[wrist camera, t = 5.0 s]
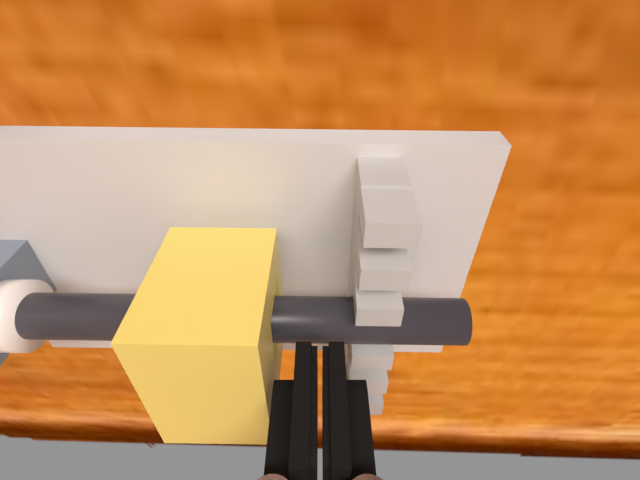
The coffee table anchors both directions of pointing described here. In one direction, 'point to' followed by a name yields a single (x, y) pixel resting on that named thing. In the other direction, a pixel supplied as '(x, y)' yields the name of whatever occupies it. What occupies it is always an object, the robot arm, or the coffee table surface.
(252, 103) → the coffee table surface
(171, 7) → the coffee table surface
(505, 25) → the coffee table surface
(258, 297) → the yellow sliding block
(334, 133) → the comb board
